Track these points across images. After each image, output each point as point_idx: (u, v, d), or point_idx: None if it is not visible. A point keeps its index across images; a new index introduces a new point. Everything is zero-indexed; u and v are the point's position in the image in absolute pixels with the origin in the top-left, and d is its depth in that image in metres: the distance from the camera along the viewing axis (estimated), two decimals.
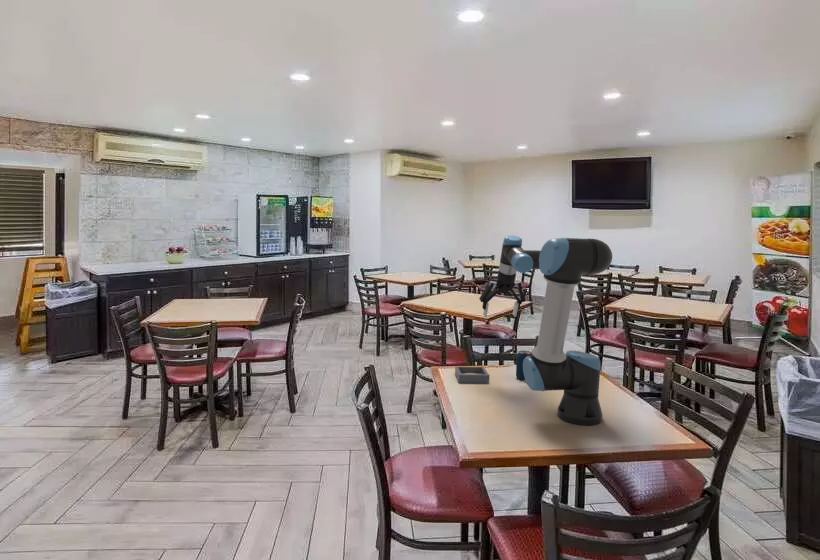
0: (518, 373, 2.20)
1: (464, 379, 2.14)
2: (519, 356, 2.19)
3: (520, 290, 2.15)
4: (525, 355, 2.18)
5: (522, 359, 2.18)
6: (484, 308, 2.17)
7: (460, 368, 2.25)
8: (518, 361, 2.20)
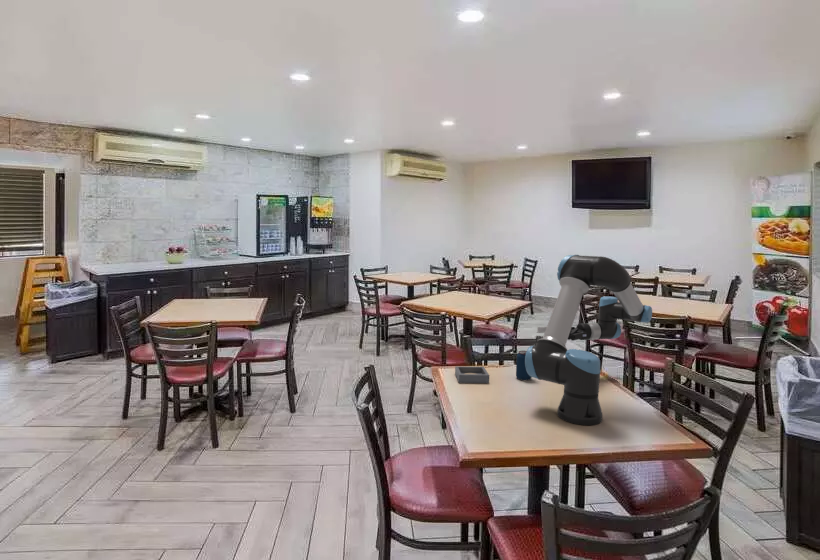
0: (518, 373, 2.20)
1: (464, 379, 2.14)
2: (519, 356, 2.19)
3: (579, 332, 2.18)
4: (525, 355, 2.18)
5: (522, 359, 2.18)
6: None
7: (460, 368, 2.25)
8: (518, 361, 2.20)
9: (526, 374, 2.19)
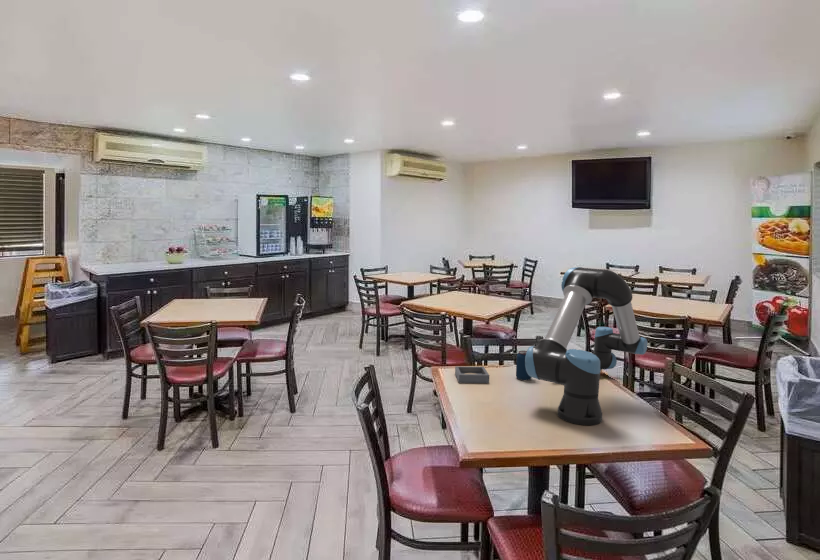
0: (518, 373, 2.20)
1: (464, 379, 2.14)
2: (519, 356, 2.19)
3: None
4: (525, 355, 2.18)
5: (522, 359, 2.18)
6: None
7: (460, 368, 2.25)
8: (518, 361, 2.20)
9: (526, 374, 2.19)
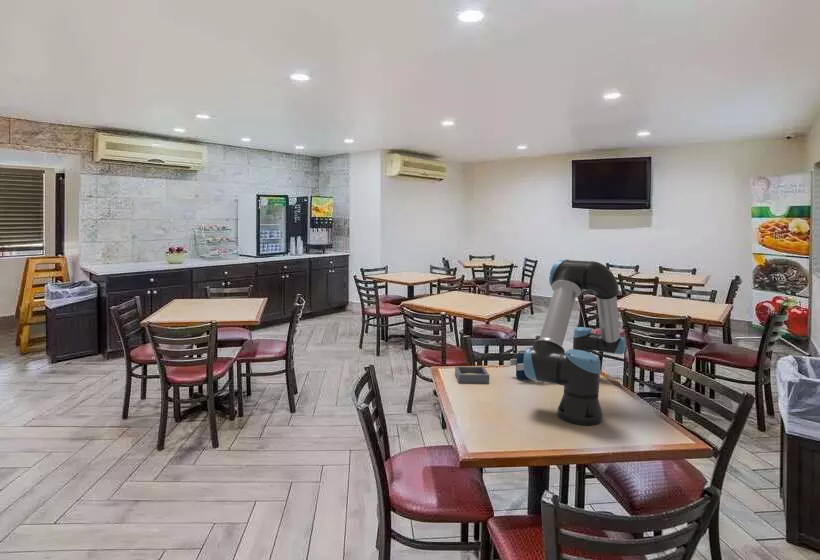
0: (518, 373, 2.20)
1: (464, 379, 2.14)
2: (519, 356, 2.19)
3: None
4: None
5: (522, 359, 2.18)
6: None
7: (460, 368, 2.25)
8: (518, 361, 2.20)
9: None
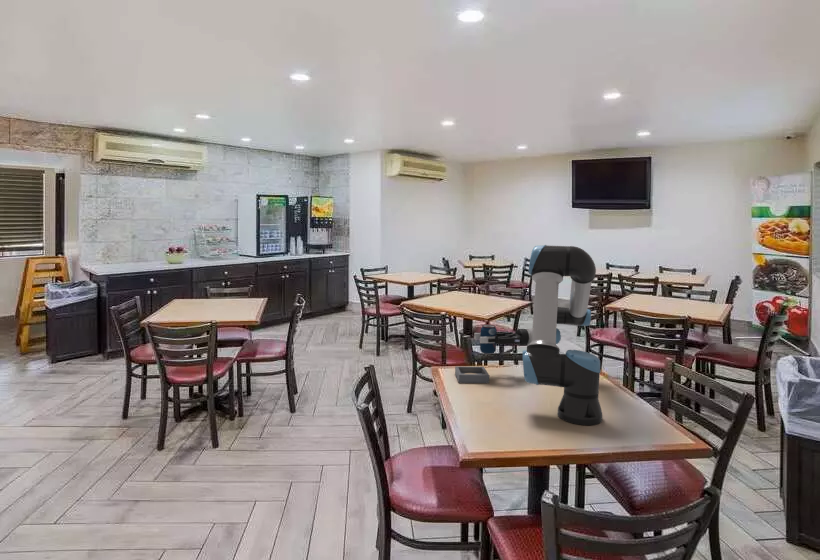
0: (481, 346, 2.20)
1: (464, 379, 2.14)
2: (482, 329, 2.19)
3: (511, 337, 2.17)
4: (488, 328, 2.18)
5: (485, 332, 2.18)
6: None
7: (460, 368, 2.25)
8: (481, 334, 2.19)
9: (489, 347, 2.18)
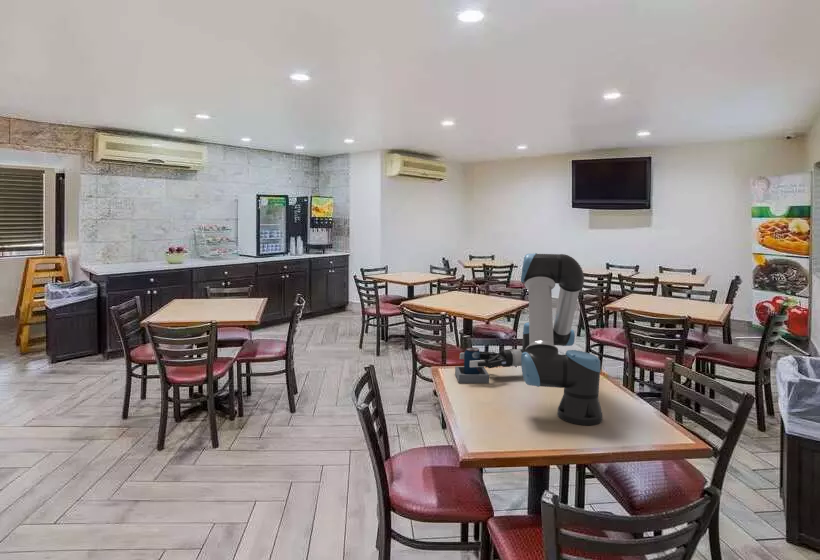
0: (465, 370, 2.18)
1: (464, 379, 2.14)
2: (466, 353, 2.18)
3: (498, 360, 2.15)
4: (472, 352, 2.17)
5: (469, 356, 2.17)
6: None
7: (460, 368, 2.25)
8: (465, 358, 2.18)
9: (473, 371, 2.17)
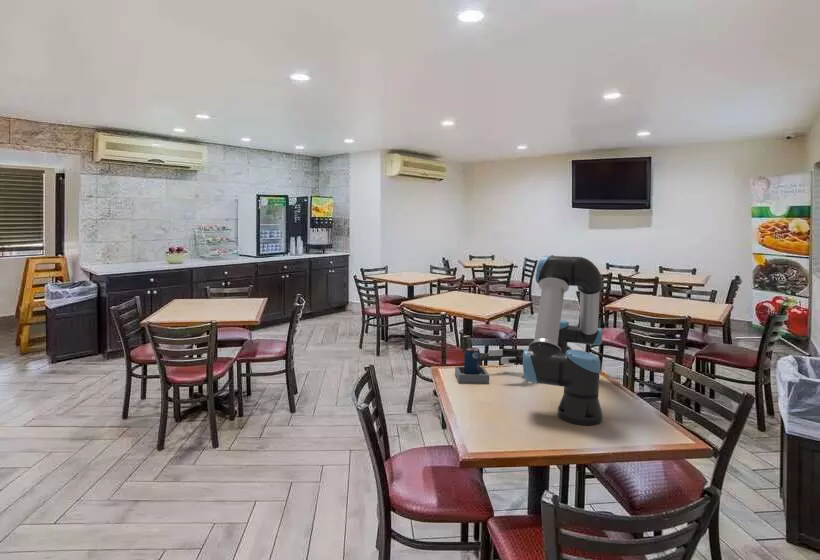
0: (465, 370, 2.18)
1: (464, 379, 2.14)
2: (466, 353, 2.18)
3: None
4: (472, 352, 2.16)
5: (469, 356, 2.17)
6: None
7: (460, 368, 2.25)
8: (465, 358, 2.18)
9: (473, 371, 2.17)
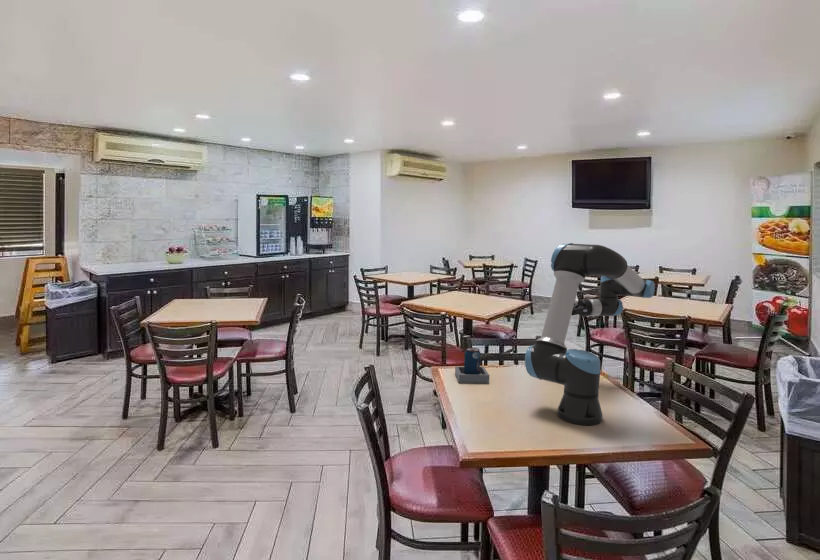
0: (465, 370, 2.18)
1: (464, 379, 2.14)
2: (466, 353, 2.18)
3: (580, 308, 2.13)
4: (472, 352, 2.16)
5: (469, 356, 2.17)
6: None
7: (460, 368, 2.25)
8: (465, 358, 2.18)
9: (473, 371, 2.17)
